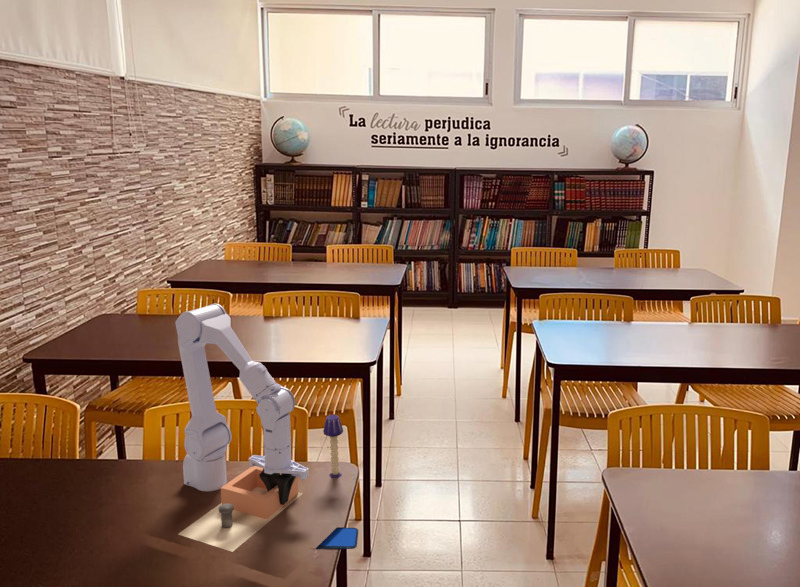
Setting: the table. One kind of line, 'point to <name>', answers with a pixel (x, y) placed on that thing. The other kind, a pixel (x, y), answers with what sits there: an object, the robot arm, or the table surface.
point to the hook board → (232, 534)
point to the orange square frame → (253, 494)
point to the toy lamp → (333, 441)
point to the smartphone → (340, 539)
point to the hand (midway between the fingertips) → (279, 501)
